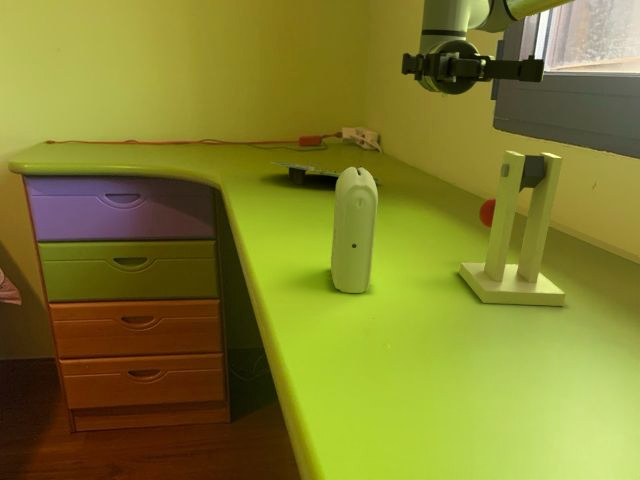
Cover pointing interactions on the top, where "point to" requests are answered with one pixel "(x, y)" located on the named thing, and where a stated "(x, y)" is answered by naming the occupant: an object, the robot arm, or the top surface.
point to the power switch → (523, 279)
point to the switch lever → (530, 179)
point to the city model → (299, 170)
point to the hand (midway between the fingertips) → (488, 67)
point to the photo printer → (353, 230)
